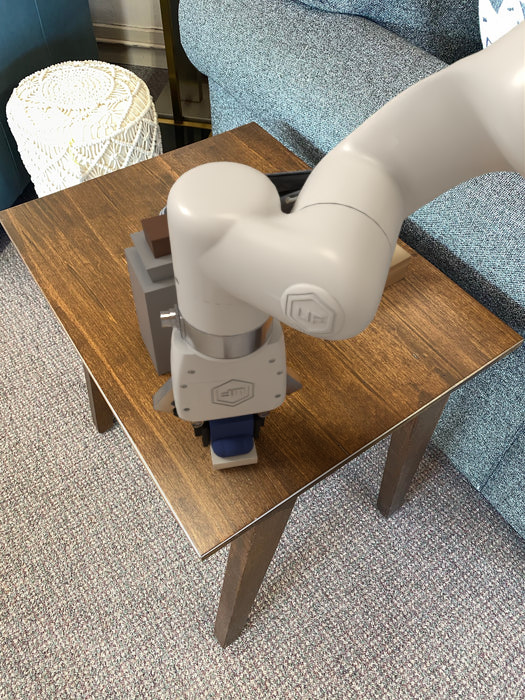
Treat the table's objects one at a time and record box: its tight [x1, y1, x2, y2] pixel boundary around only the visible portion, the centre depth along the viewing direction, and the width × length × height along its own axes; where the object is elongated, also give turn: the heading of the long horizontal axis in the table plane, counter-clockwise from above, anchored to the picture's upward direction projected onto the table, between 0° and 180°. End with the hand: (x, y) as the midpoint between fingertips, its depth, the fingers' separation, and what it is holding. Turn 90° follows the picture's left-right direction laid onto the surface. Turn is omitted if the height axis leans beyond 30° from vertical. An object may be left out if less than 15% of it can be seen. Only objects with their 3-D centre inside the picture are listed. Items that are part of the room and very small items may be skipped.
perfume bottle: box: [123, 213, 178, 376], centre depth 60 cm, size 7×7×18 cm
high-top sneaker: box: [208, 414, 258, 471], centre depth 58 cm, size 8×4×6 cm, turn 11°
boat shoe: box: [158, 168, 314, 215], centre depth 79 cm, size 24×9×8 cm, turn 101°
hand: (229, 430), depth 60 cm, fingers closed on high-top sneaker, 4 cm apart
